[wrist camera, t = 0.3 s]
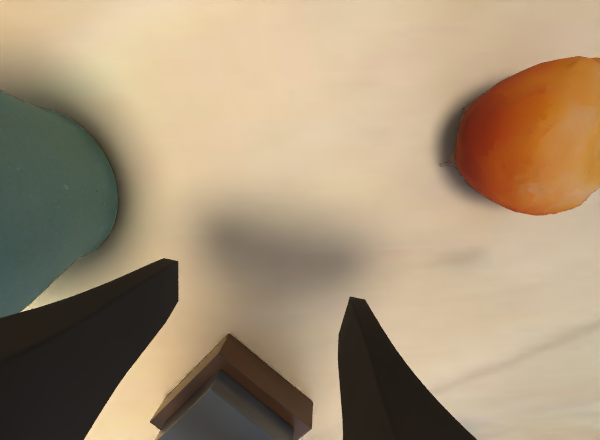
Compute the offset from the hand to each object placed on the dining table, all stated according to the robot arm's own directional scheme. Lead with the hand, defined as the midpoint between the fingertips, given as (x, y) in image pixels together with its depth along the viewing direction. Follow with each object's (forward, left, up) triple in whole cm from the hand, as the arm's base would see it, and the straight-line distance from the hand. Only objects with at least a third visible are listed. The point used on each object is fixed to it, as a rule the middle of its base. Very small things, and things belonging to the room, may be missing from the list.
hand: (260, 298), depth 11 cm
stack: (-16, -7, -10) cm, 20 cm away
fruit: (+14, -6, -11) cm, 19 cm away
